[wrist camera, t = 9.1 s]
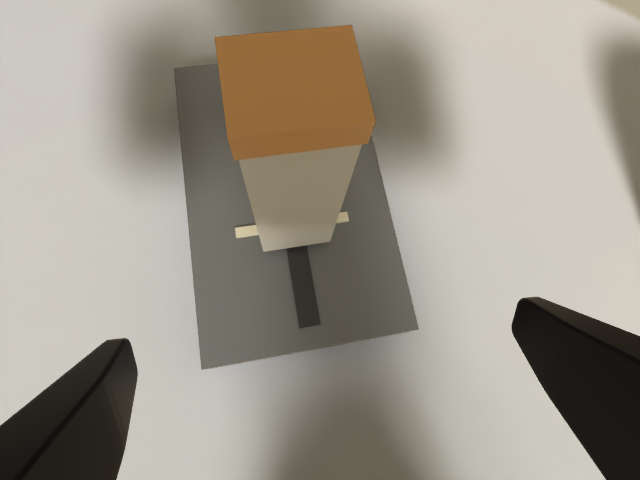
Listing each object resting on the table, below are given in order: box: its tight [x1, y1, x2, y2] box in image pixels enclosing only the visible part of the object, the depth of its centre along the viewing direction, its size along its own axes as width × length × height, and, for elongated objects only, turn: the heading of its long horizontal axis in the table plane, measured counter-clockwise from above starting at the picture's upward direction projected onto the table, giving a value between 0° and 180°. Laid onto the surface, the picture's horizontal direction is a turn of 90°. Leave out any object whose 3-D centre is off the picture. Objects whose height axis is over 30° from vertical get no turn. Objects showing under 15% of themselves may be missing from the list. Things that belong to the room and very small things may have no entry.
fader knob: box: [215, 25, 376, 252], centre depth 14 cm, size 3×3×10 cm
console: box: [174, 64, 419, 370], centre depth 21 cm, size 16×10×2 cm, turn 10°
